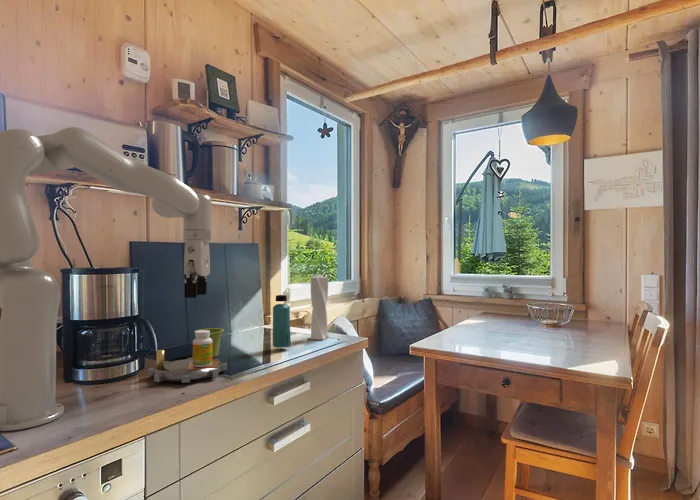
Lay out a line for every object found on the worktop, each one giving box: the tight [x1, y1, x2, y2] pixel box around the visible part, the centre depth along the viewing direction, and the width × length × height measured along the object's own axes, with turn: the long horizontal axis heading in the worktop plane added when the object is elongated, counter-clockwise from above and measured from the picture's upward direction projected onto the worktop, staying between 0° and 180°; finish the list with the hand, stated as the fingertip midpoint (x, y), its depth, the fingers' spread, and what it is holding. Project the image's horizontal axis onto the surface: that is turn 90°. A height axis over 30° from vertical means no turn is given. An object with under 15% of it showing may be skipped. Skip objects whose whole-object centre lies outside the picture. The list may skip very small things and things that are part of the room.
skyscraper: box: [307, 270, 330, 341], centre depth 169 cm, size 8×8×28 cm
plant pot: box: [194, 327, 224, 358], centre depth 140 cm, size 9×9×9 cm
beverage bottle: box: [271, 294, 291, 349], centre depth 149 cm, size 6×7×20 cm
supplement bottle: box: [192, 329, 213, 367], centre depth 117 cm, size 5×5×10 cm
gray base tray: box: [147, 349, 228, 384], centre depth 117 cm, size 21×21×6 cm
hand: (196, 296), depth 117 cm, fingers open, 9 cm apart
